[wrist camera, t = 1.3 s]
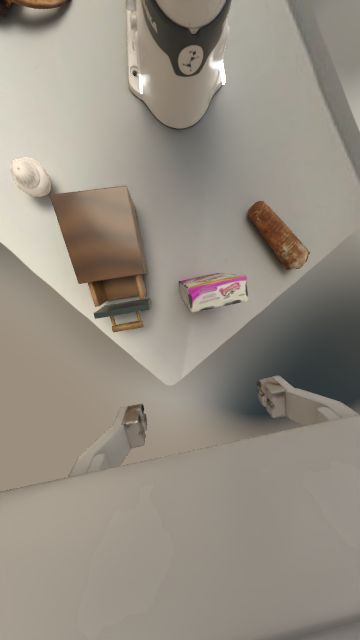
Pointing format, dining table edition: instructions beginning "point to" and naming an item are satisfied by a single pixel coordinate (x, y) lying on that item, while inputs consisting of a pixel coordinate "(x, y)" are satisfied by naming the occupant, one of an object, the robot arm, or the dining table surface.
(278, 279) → the dining table surface
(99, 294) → the drawer
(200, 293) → the candy bar box
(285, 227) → the bread
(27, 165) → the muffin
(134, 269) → the cabinet
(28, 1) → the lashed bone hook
